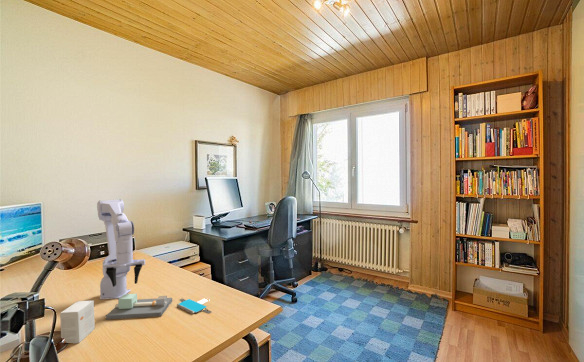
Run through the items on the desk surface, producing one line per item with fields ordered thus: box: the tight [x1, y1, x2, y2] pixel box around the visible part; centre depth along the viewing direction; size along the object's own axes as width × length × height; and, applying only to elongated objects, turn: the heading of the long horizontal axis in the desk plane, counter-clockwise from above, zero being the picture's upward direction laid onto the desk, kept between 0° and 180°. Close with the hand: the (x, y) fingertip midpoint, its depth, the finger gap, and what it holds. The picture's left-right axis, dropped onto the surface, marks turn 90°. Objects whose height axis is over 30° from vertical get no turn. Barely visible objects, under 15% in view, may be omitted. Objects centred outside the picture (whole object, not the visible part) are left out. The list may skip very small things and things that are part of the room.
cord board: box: [105, 297, 173, 320], centre depth 106 cm, size 20×12×2 cm, turn 96°
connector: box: [155, 295, 168, 307], centre depth 107 cm, size 3×3×3 cm
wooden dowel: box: [114, 301, 166, 308], centre depth 106 cm, size 19×2×2 cm, turn 96°
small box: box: [59, 300, 96, 344], centre depth 89 cm, size 8×6×10 cm
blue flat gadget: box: [176, 297, 212, 315], centre depth 110 cm, size 20×12×2 cm, turn 56°
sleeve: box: [117, 293, 138, 309], centre depth 106 cm, size 5×4×4 cm
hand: (125, 284), depth 108 cm, fingers open, 7 cm apart
